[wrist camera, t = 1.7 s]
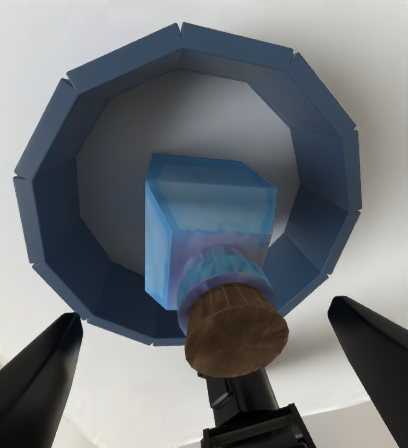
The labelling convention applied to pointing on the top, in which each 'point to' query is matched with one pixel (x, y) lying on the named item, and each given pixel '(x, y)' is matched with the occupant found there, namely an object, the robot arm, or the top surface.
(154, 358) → the top surface
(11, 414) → the robot arm
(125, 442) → the top surface
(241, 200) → the perfume bottle
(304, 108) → the blue round bin
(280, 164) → the top surface
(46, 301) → the top surface
